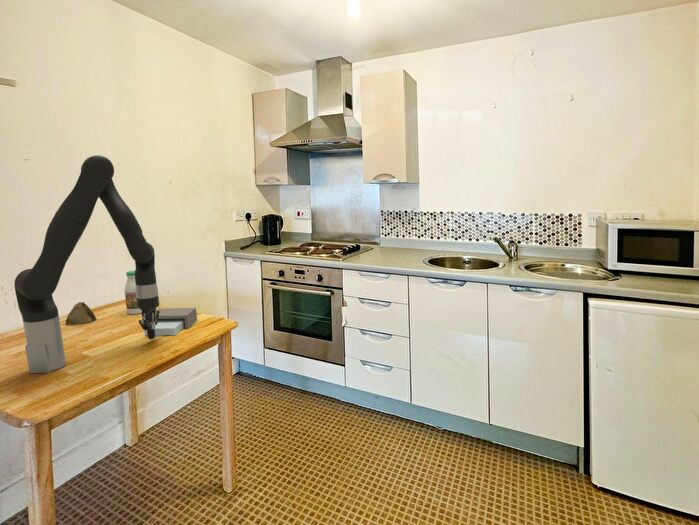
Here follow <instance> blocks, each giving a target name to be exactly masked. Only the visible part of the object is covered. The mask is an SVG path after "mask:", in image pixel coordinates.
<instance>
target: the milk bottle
mask: <svg viewBox="0 0 699 525" xmlns="http://www.w3.org/2000/svg"><path fill="white" fill-rule="evenodd" d="M125 274H126V277H127V278H126V282H125V286H124V297H125V305H126V313H127V314H128V315H138V314H142V310H141V309H138V308H137V300H136V283H135V270H129V271H126V272H125Z"/></svg>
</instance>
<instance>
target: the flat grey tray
mask: <svg viewBox="0 0 699 525" xmlns="http://www.w3.org/2000/svg"><path fill="white" fill-rule="evenodd" d="M155 326H156V327H155V328H154V329H155V337H157V336H160V337H161V336H162V335H171V336H176V335H177V334H179V333H180V332H181V331H183V330H184V328H185V318H171V319H158V323H157V325H155ZM180 330H181V331H180ZM179 331H180V332H179ZM178 332H179V333H178ZM144 336H147V337H148V334H147V330H144ZM162 337H163V336H162Z"/></svg>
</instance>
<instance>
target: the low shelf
mask: <svg viewBox="0 0 699 525" xmlns="http://www.w3.org/2000/svg"><path fill="white" fill-rule="evenodd" d="M156 310H157V311H160V313H159V318H158V319H171V318H185V327H184V328H185V329H189V328H190V327H191V326H192V325H193V324H195V323H196V322H197V320H198V315H197V307H167V308H163V307H162V308H161V307H160V308H159V307H158V308H156Z"/></svg>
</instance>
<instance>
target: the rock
mask: <svg viewBox="0 0 699 525" xmlns="http://www.w3.org/2000/svg"><path fill="white" fill-rule="evenodd" d="M97 320H98V318H97V317H96V315H95V313H94V311H92V310H91V308H90V306H88V304H86V303H85V302H84V301H83V302H82V301H78V303H76V304H74V306H73V307H72V309H71V310H70V312H68V314H67V316H66V319H65V325H76V323H80V324H87V323H92V322H96V321H97Z"/></svg>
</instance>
